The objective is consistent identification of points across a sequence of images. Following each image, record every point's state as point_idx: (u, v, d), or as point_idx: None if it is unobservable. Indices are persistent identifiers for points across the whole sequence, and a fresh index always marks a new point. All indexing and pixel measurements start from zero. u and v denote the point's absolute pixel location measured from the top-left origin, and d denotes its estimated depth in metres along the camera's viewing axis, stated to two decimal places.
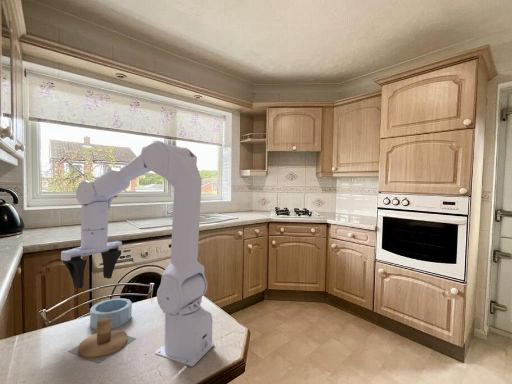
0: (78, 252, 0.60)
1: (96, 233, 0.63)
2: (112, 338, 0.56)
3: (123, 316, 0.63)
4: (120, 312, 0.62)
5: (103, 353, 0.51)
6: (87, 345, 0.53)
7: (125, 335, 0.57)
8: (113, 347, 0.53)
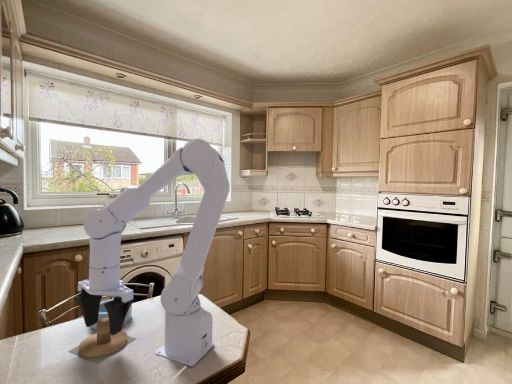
0: (82, 286, 0.55)
1: (89, 271, 0.53)
2: (112, 338, 0.56)
3: None
4: None
5: (103, 353, 0.51)
6: (87, 345, 0.53)
7: (125, 335, 0.57)
8: (113, 347, 0.53)
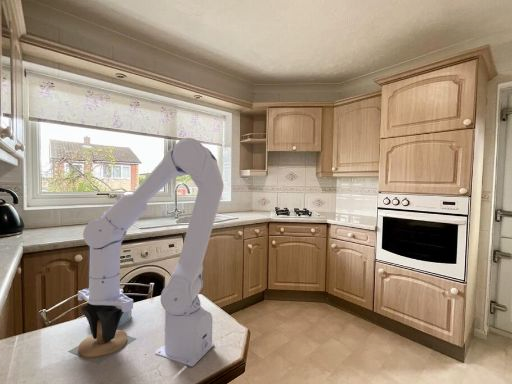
0: (82, 295, 0.55)
1: (89, 281, 0.53)
2: None
3: (123, 316, 0.63)
4: None
5: (103, 353, 0.51)
6: (87, 345, 0.53)
7: (125, 335, 0.57)
8: (113, 347, 0.53)
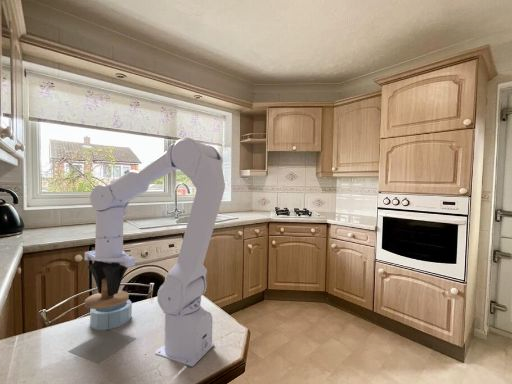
0: (89, 255, 0.61)
1: (95, 240, 0.59)
2: (115, 295, 0.62)
3: (123, 316, 0.63)
4: (120, 312, 0.62)
5: (108, 305, 0.57)
6: (93, 300, 0.59)
7: (126, 293, 0.63)
8: (117, 300, 0.59)
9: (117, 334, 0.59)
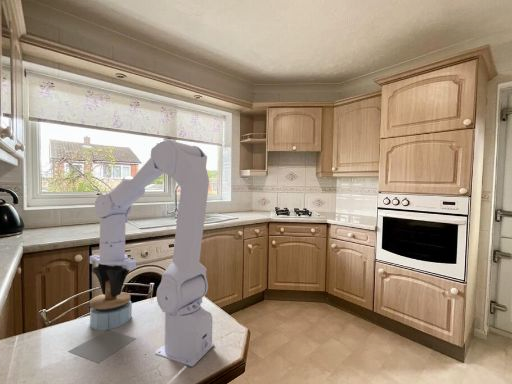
0: (93, 259, 0.66)
1: None
2: (117, 296, 0.66)
3: (123, 316, 0.63)
4: (120, 312, 0.62)
5: (112, 305, 0.61)
6: (97, 301, 0.63)
7: (128, 294, 0.67)
8: (120, 301, 0.63)
9: (117, 334, 0.59)
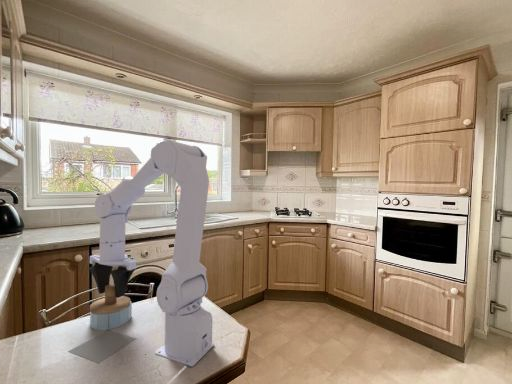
0: (93, 259, 0.66)
1: None
2: (117, 301, 0.66)
3: (123, 316, 0.63)
4: (120, 312, 0.62)
5: (112, 310, 0.61)
6: (97, 306, 0.63)
7: (128, 299, 0.67)
8: (120, 306, 0.63)
9: (117, 334, 0.59)
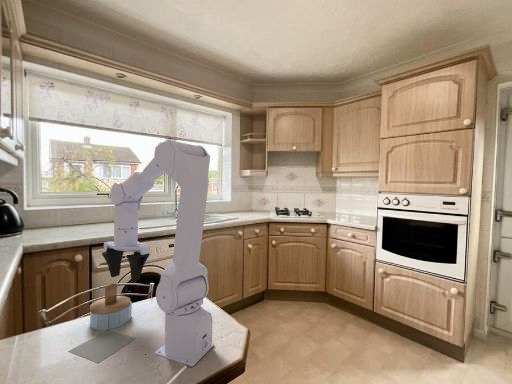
0: (108, 245, 0.69)
1: (114, 231, 0.67)
2: (117, 301, 0.66)
3: (123, 316, 0.63)
4: (120, 312, 0.62)
5: (112, 310, 0.61)
6: (97, 306, 0.63)
7: (128, 299, 0.67)
8: (120, 306, 0.63)
9: (117, 334, 0.59)
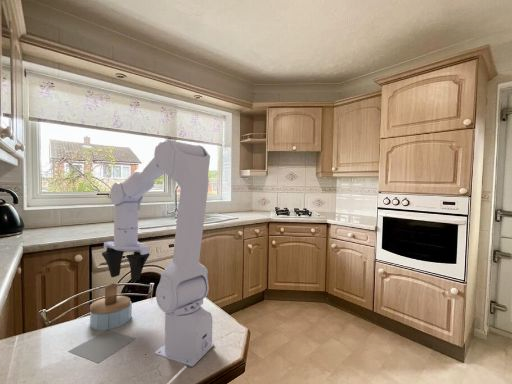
0: (108, 245, 0.69)
1: (114, 231, 0.67)
2: (117, 301, 0.66)
3: (123, 316, 0.63)
4: (120, 312, 0.62)
5: (112, 310, 0.61)
6: (97, 306, 0.63)
7: (128, 299, 0.67)
8: (120, 306, 0.63)
9: (117, 334, 0.59)
